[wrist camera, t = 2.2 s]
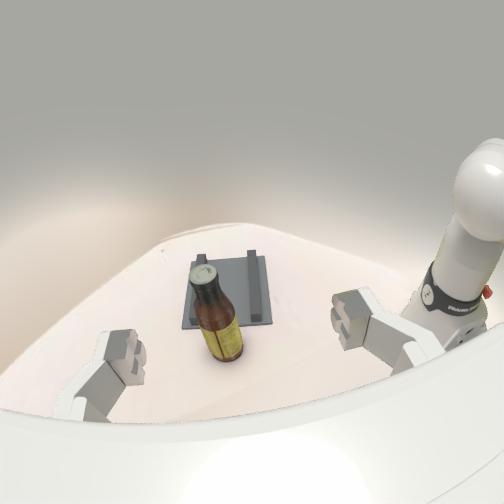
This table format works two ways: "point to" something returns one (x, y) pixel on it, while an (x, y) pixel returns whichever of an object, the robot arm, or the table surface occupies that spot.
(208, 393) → the table surface
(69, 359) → the table surface
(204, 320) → the sauce bottle
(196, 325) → the holder
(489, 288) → the robot arm
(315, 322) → the table surface
